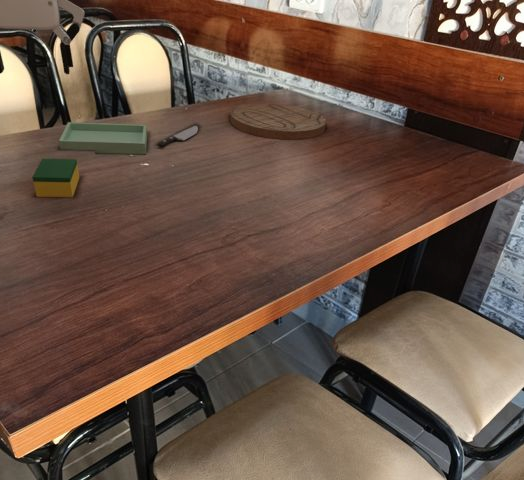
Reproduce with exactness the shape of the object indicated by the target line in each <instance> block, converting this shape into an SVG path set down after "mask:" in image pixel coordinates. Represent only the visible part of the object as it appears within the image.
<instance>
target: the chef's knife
mask: <svg viewBox="0 0 524 480" xmlns="http://www.w3.org/2000/svg"><path fill="white" fill-rule="evenodd" d="M198 130H199V127H198V125H194V126H191V127H189V128H187V129H184V130H182V131H180V132H178V133H176V134H173V135H171V136H169V137H168V138H165V139H163V140H161V141H159V142H158V143H157V146H158V147H161V148H163V147H164V146H165V145H166V144H169V143H171V142H174V141H185V140H187V139H189V138H191V137H193V136H195V135H196V134H197V133H198Z"/></svg>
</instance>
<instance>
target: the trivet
mask: <svg viewBox="0 0 524 480" xmlns="http://www.w3.org/2000/svg"><path fill="white" fill-rule="evenodd" d="M230 124H231V125H232V126H233V127H234V128H235V129H237V130H239V131H241V132H244V133H246V134H250V135H253V136H257V137H262V138H267V139H275V140H292V141H293V140H305V139H311V138H315V137H318V136H321V135H322V134H323V133H324V132H326V124H327V120H326V118H325V117H324V115H322V114H320V113H318V112H316V111H314V110H311V109H308V108H304V107H301V106H295V105H292V104H283V103H269V102H260V103H259V102H257V103H247V104H242V105H239V106H236V107H235V108H233V109H231V111H230Z"/></svg>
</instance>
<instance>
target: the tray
mask: <svg viewBox="0 0 524 480" xmlns="http://www.w3.org/2000/svg"><path fill="white" fill-rule="evenodd" d="M58 143H59V150H70V151H71V150H72V151H73V150H74V151H94V153H95V154H117V155H118V154H122V155H123V154H124V155H146V154H147V143H148V125H147V124H129V123H104V122H103V123H102V122H75V121H73V122H72V121H71V122H70V121H68V122H67V123H66V125H65V128H64V129H63V131H62V134H61V136H60V138H59V140H58Z"/></svg>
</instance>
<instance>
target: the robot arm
mask: <svg viewBox="0 0 524 480" xmlns="http://www.w3.org/2000/svg"><path fill="white" fill-rule="evenodd" d="M60 9H62V10H64V11H66V12H68V13H69V14H71V15H72V17H73V19H72V22H71V24H70V25H69V27H68V28H67V29H65V27H64V26H63V25H62V24H61V23H60V22H61V11H60ZM85 14H86V13H85V10H84V9H83V8H81V7H80V6H79V5H76V4H75V3H73V2H71V1H69V0H0V29H6V30H7V29H8V30H34V31H35V30H38V31H42V30H43V31H49V30H50V31H52V32H53V33H54V34H55V35H56V37H57V38H58V39H59V41H60V43H59V50H60V56H61V61H62V67H63V73H64V74H65V75H70V68H74V62H73V56H72V48H71V43H72V41H73V40H74V39H75V38H76V36H77V35H78V34H79V32H80V30H81V27H82V24H83V21H84V18H85ZM4 71H5V66H4V60H3V56H2V52H1V51H0V74H3V73H4Z"/></svg>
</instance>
